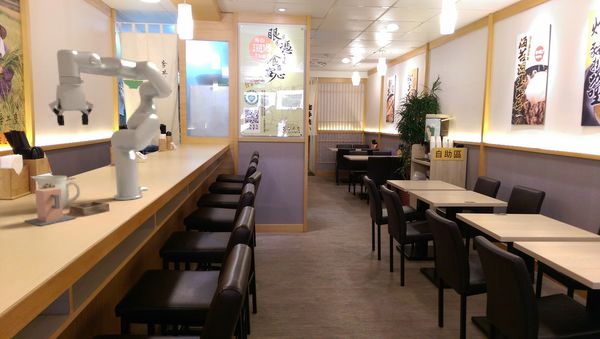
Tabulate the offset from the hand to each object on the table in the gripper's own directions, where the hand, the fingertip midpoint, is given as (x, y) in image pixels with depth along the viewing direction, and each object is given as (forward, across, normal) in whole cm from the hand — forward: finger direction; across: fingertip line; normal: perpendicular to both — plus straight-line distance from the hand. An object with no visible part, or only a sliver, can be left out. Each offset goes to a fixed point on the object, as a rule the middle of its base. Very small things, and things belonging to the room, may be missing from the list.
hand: (73, 125), depth 167 cm
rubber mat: (+34, +17, +10) cm, 40 cm away
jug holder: (+34, +2, +10) cm, 36 cm away
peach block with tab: (+34, +17, +11) cm, 39 cm away
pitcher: (+34, +5, -8) cm, 36 cm away
